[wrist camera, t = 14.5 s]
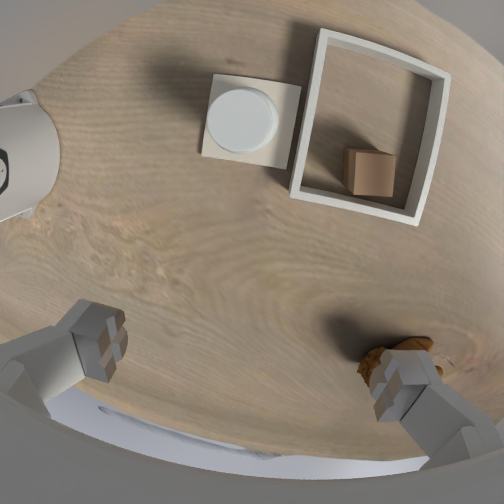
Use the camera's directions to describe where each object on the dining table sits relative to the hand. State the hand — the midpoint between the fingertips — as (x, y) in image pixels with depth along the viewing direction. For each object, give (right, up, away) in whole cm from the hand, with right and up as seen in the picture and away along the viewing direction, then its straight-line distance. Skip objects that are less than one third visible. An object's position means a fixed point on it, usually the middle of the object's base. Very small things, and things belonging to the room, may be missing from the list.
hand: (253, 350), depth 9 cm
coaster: (0, +17, +21) cm, 26 cm away
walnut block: (+12, +12, +22) cm, 27 cm away
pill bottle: (0, +16, +20) cm, 26 cm away
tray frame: (+12, +16, +20) cm, 28 cm away
